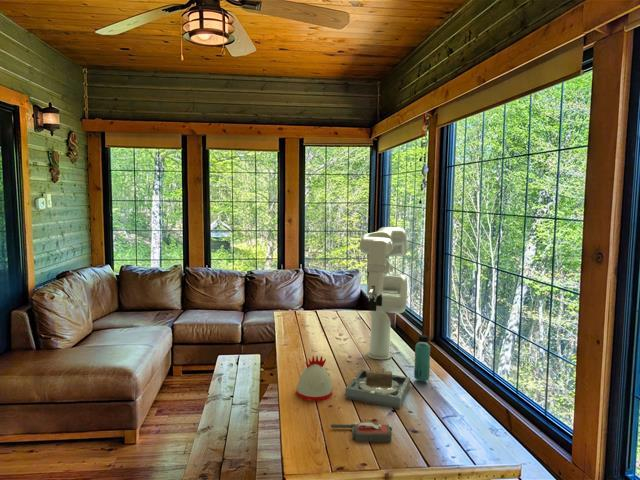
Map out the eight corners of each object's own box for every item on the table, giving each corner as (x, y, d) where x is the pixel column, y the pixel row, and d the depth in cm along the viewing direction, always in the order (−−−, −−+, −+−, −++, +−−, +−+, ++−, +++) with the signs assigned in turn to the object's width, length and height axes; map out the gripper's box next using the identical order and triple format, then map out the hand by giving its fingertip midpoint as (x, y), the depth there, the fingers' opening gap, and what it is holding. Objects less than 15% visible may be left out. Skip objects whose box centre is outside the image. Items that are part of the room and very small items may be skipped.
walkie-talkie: (390, 429, 147) (330, 428, 147) (390, 416, 147) (330, 415, 146) (395, 443, 138) (331, 442, 138) (395, 429, 138) (332, 428, 138)
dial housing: (360, 378, 188) (360, 368, 188) (409, 387, 180) (410, 377, 180) (345, 398, 169) (345, 387, 168) (399, 408, 161) (400, 397, 161)
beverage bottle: (430, 380, 188) (432, 334, 187) (428, 386, 182) (430, 338, 180) (414, 377, 190) (416, 332, 189) (412, 383, 184) (414, 336, 182)
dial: (398, 380, 181) (399, 366, 181) (400, 397, 165) (400, 381, 165) (359, 377, 183) (359, 363, 183) (357, 393, 168) (358, 378, 167)
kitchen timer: (335, 400, 167) (336, 361, 166) (299, 402, 165) (299, 363, 163) (328, 385, 181) (329, 349, 179) (295, 386, 178) (295, 350, 177)
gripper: (373, 265, 195) (371, 303, 197) (362, 270, 179) (361, 311, 180) (390, 266, 192) (388, 304, 194) (380, 271, 176) (379, 313, 178)
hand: (375, 308), depth 187 cm, fingers open, 9 cm apart
